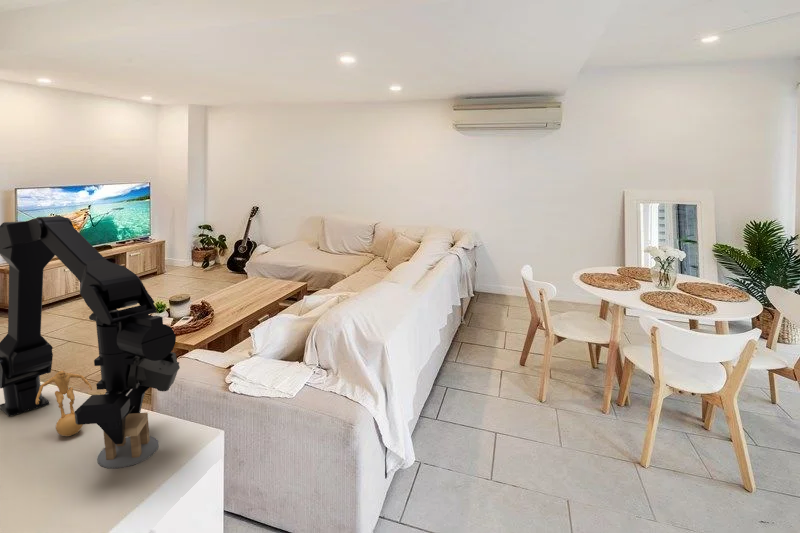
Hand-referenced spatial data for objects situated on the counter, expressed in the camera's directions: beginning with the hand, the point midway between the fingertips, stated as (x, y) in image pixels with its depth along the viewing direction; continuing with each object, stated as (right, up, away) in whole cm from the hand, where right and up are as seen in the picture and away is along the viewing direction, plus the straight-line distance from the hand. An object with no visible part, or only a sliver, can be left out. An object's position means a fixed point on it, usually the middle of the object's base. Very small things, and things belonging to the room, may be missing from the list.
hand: (127, 433), depth 74 cm
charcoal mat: (0, -4, +1) cm, 4 cm away
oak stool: (0, -3, +1) cm, 3 cm away
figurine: (-15, -2, +6) cm, 16 cm away
